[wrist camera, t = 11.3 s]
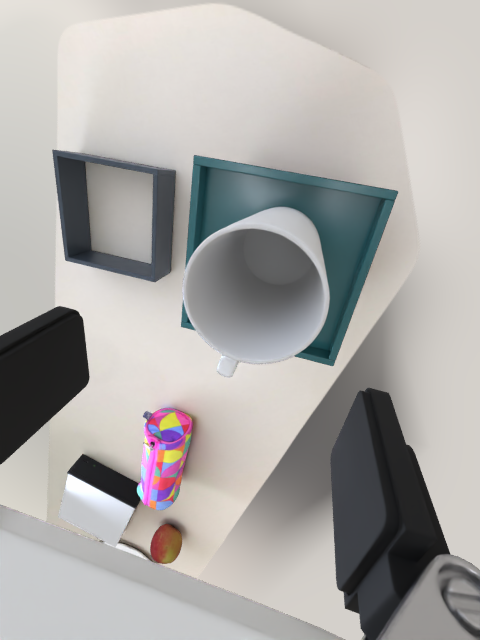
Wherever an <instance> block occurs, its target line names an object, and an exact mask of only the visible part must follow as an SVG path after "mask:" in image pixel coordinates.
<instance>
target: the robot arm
mask: <svg viewBox="0 0 480 640" xmlns="http://www.w3.org/2000/svg"><path fill="white" fill-rule="evenodd" d="M88 381H89V369H88V360H87V351H86V342H85V333H84V324H83V318H82V317H81V316H80V314H79V312H78V311H76V310H73V309H69V308H65V307H61V306H59V307H56V308H54V309H52V310H50V311H48V312H46V313H44V314H42V315H40V316H38V317H36V318H34V319H32V320H30V321H28V322H26V323H24V324H23V325H21V326H19V327H17V328H15V329H13V330H11V331H9V332H7V333H5V334H3V335H1V336H0V464H2V463H3V462H4V461H5V460H6V459H7V458H9V457H10V456H11V455H12V454H13V453H14V452H15V451H16V450H17V449H18V448H19V447H20V446H21V445H23V444H24V443H25V442H26V441H27V440H28V439H29V438H30V437H31V436H32V435H34V434H35V433H36V432H37V431H38V430H39V429H40V428H41V427H42V426H43V425H44V424H45V423H46V422H48V421H49V420H50V419H51V418H52V417H53V416H54V415H55V414H56V413H58V412H59V411H60V410H61V409H62V408H63V407H64V406H65V405H66V404H67V403H68V402H69V401H71V400H72V399H73V398H74V397H75V396H76V395H77V394H78V393H79V392H80V391H81V390H83V389H84V388H85V387H86V385H87V384H88ZM331 481H332V501H333V522H334V542H335V563H336V581H337V587H338V589H339V590H340V591H343V592H344V602H345V609H348V610H351V611H354V612H356V613H359V614H360V624H361V629H362V631H363V632H364V634H365V635H364V636H363V638H362V639H361V640H480V570H479V569H478V568H477V567H475V566H474V565H473V564H472V563H470V562H468V561H466V560H464V559H462V558H460V557H458V556H454V555H450V552H449V549H448V546H447V543H446V541H445V538H444V535H443V532H442V529H441V527H440V524H439V521H438V518H437V515H436V512H435V510H434V507H433V504H432V501H431V498H430V495H429V492H428V490H427V487H426V484H425V481H424V478H423V475H422V472H421V470H420V467H419V464H418V461H417V458H416V455H415V453H414V451H413V449H412V448H411V447H410V446H409V445H406V443H405V440H404V437H403V434H402V431H401V428H400V425H399V422H398V419H397V416H396V413H395V409H394V407H393V403H392V400H391V397H390V395H389V393H387V392H383V391H379V390H375V389H372V388H367V389H366V390H365V392H364V391H359V392H358V394H357V396H356V398H355V401H354V403H353V405H352V407H351V409H350V412H349V414H348V416H347V418H346V420H345V423H344V425H343V427H342V429H341V432H340V434H339V436H338V438H337V441H336V443H335V445H334V447H333V450H332V453H331ZM0 640H345V639H343V638H340V637H338V636H336V635H334V634H332V633H330V632H328V631H326V630H324V629H321V628H319V627H317V626H314V625H312V624H309V623H307V622H304V621H302V620H300V619H297V618H295V617H292V616H290V615H287V614H285V613H282V612H279V611H277V610H275V609H272V608H270V607H268V606H265V605H263V604H260V603H258V602H255V601H253V600H250V599H248V598H245V597H243V596H240V595H238V594H235V593H232V592H230V591H227V590H224V589H222V588H219V587H217V586H214V585H211V584H209V583H206V582H204V581H201V580H198V579H196V578H193V577H191V576H188V575H185V574H183V573H180V572H178V571H175V570H172V569H170V568H167V567H165V566H162V565H159V564H157V563H154V562H152V561H149V560H146V559H144V558H141V557H138V556H136V555H133V554H131V553H128V552H125V551H123V550H120V549H117V548H115V547H112V546H109V545H107V544H104V543H101V542H99V541H96V540H93V539H91V538H88V537H86V536H83V535H80V534H78V533H75V532H72V531H70V530H67V529H64V528H62V527H59V526H56V525H54V524H51V523H48V522H46V521H43V520H40V519H38V518H35V517H32V516H30V515H27V514H24V513H22V512H19V511H16V510H14V509H11V508H8V507H6V506H3V505H0Z"/></svg>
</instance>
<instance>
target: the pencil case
mask: <svg viewBox="0 0 480 640" xmlns="http://www.w3.org/2000/svg"><path fill="white" fill-rule="evenodd" d="M143 417H144V418H146V419H147V421H146V423H145V426H144V433H145V436H146V437H145V442H143V444H144V450H143V458H142V476H141V481H140V483H139V485H138V487H137V493H138V495H139V496H140V499H141V500H142V501H143V503H144V504H145V505H148V506H149V507H150V508H153V509H156V510H164V509H166V508H168V507H169V506H170V505H172V504H173V502H174V501H175V500H176V498H177V496H178V494H179V490H180V484H181V479H182V473H183V468H184V465H185V459H186V456H187V452H188V448H189V445H190V440H191V433H192V428H193V422H192V419H191V417H190V416H189V415H187V414H185V413H183V412H181V411H178V410H176V409H171V408H164V409H160V410H158V411H156V412H154V413H153V414H152V413H150V412H147V411H146V412H145V413H144V415H143Z"/></svg>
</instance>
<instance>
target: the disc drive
mask: <svg viewBox="0 0 480 640" xmlns="http://www.w3.org/2000/svg"><path fill="white" fill-rule="evenodd" d="M67 473H68V478H67V482H66V486H65V491H64V495H63V499H62V503H61V507H60V511H59V515H58V517H59V518H61V519H63V520H64V521H66V522H68V523H70V524H72V525H74V526H76V527H78V528H80V529H82V530H83V531H85V532H87V533H89V534H91V535H93V536H95V537H97V538H99V539H101V540H103V541H104V542H106V543H108V544H110V545H112V546H114V547H116V546H117V544H118V542H119V540H120V538H121V536H122V535H123V533H124V531H125V529H126V527H127V525H128V523H129V521H130V519H131V517H132V515H133V513H134V511H135V509H136V507H137V505H138V504H139V502H140V500H141V499H140V496H139V495H138V493H137V487H138V485H139V483H137V482H135V481H133V480H131V479H129V478H127V477H125V476H123V475H121V474H120V473H118V472H116V471H114V470H112V469H110V468H108V467H106V466H104V465H102V464H100V463H99V462H97V461H95V460H93V459H91V458H89V457H87V456H85V455H83V454H82V455H81V457H80V458H79V459H78V460H77V461H76V462H75V464H74V465H73V466H72V467H71V468H70V470H69V471H68V472H67Z"/></svg>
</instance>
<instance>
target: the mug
mask: <svg viewBox="0 0 480 640" xmlns="http://www.w3.org/2000/svg"><path fill="white" fill-rule="evenodd" d="M183 300H184V305H185V309H186V312H187V315H188V317H189V320H190V322H191V323H192V325H193V327H194V328H195V330H196V331H197V333H198V334H199V335H200V336H201V338H202V339H203V340H204V341H205V342H206V343H207V344H208V345H210V346H211V347H212V348H213V349H215V350H216V351H217V352H219V353H221V354H222V357H221V359H220V361H219V364H218V367H217V372H218V373H219V374H220V375H222V376H224V377H232V376H233V374H234V372H235V369H236V367H237V365H238V363H239V361H240V362H244V363H250V364H270V363H276V362H280V361H283V360H286V359H288V358H291V357H293V356H295V355H297V354H298V353H300V352H301V351H303V350H304V349H305V348H307V347H308V346H309V345H310V344H311V343H312V342H313V341H314V339H315V338H316V337H317V336H318V334H319V333H320V331H321V329H322V327H323V325H324V323H325V320H326V317H327V314H328V309H329V300H330V295H329V286H328V281H327V275H326V269H325V264H324V259H323V254H322V249H321V243H320V238H319V235H318V232H317V229H316V227H315V226H314V224H313V223H312V221H311V220H310V219H309V218H308V217H307V216H306V215H305V214H303V213H302V212H300V211H298V210H296V209H293V208H289V207H274V208H270V209H267V210H264V211H261V212H259V213H256V214H254V215H252V216H250V217H247V218H245V219H242V220H240V221H238V222H235V223H233V224H231V225H229V226H227V227H225V228H223V229H221V230H219V231H217V232H215V233H213V234H212V235H210V236H209V237H208V238H206V239H205V240H204V241H203V242H202V243H201V244H200V245H199V246H198V247H197V249H196V250H195V251H194V253H193V254H192V256H191V258H190V260H189V262H188V264H187V267H186V270H185V273H184V278H183Z"/></svg>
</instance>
